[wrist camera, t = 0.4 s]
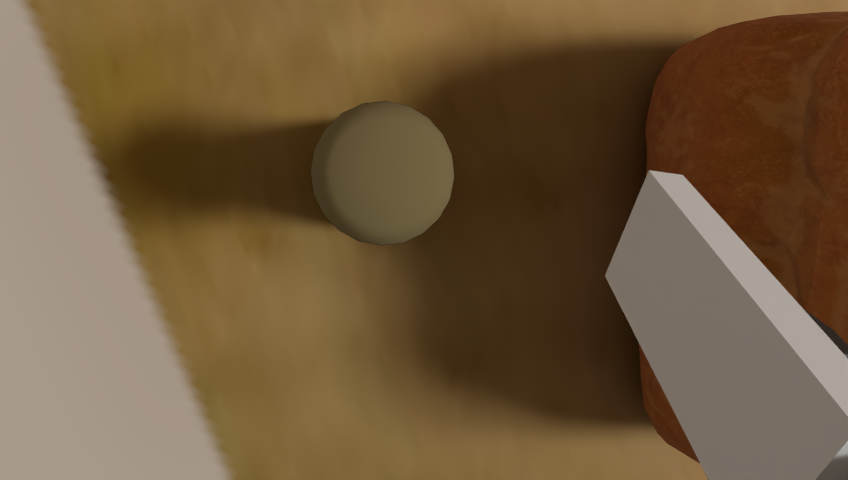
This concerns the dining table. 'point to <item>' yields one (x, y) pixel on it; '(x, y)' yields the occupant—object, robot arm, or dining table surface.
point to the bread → (762, 157)
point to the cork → (382, 173)
